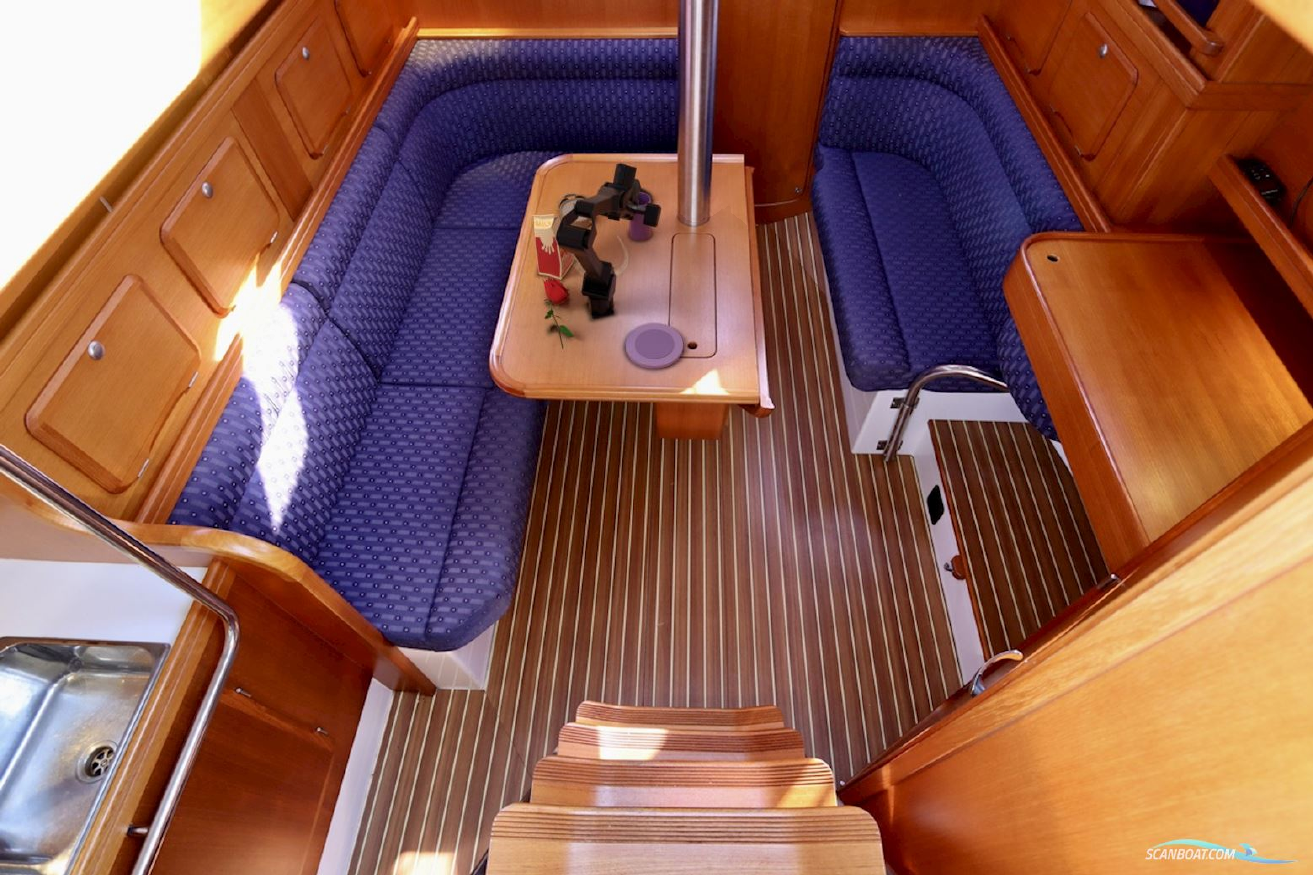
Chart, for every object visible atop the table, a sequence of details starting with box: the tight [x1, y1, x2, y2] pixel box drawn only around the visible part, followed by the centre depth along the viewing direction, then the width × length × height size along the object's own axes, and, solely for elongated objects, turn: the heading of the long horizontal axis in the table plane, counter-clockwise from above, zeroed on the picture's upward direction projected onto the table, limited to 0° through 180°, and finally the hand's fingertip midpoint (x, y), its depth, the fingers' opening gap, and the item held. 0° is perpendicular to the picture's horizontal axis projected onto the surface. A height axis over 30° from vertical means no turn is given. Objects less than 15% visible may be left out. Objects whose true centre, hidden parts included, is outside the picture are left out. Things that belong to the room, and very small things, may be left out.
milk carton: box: [530, 213, 575, 281], centre depth 191 cm, size 9×9×20 cm
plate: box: [625, 322, 684, 370], centre depth 181 cm, size 16×16×1 cm
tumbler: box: [628, 192, 652, 242], centre depth 203 cm, size 7×7×13 cm
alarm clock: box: [557, 193, 592, 229], centre depth 212 cm, size 11×5×15 cm
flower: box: [542, 276, 575, 350], centre depth 183 cm, size 9×10×30 cm
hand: (635, 214), depth 198 cm, fingers open, 9 cm apart
